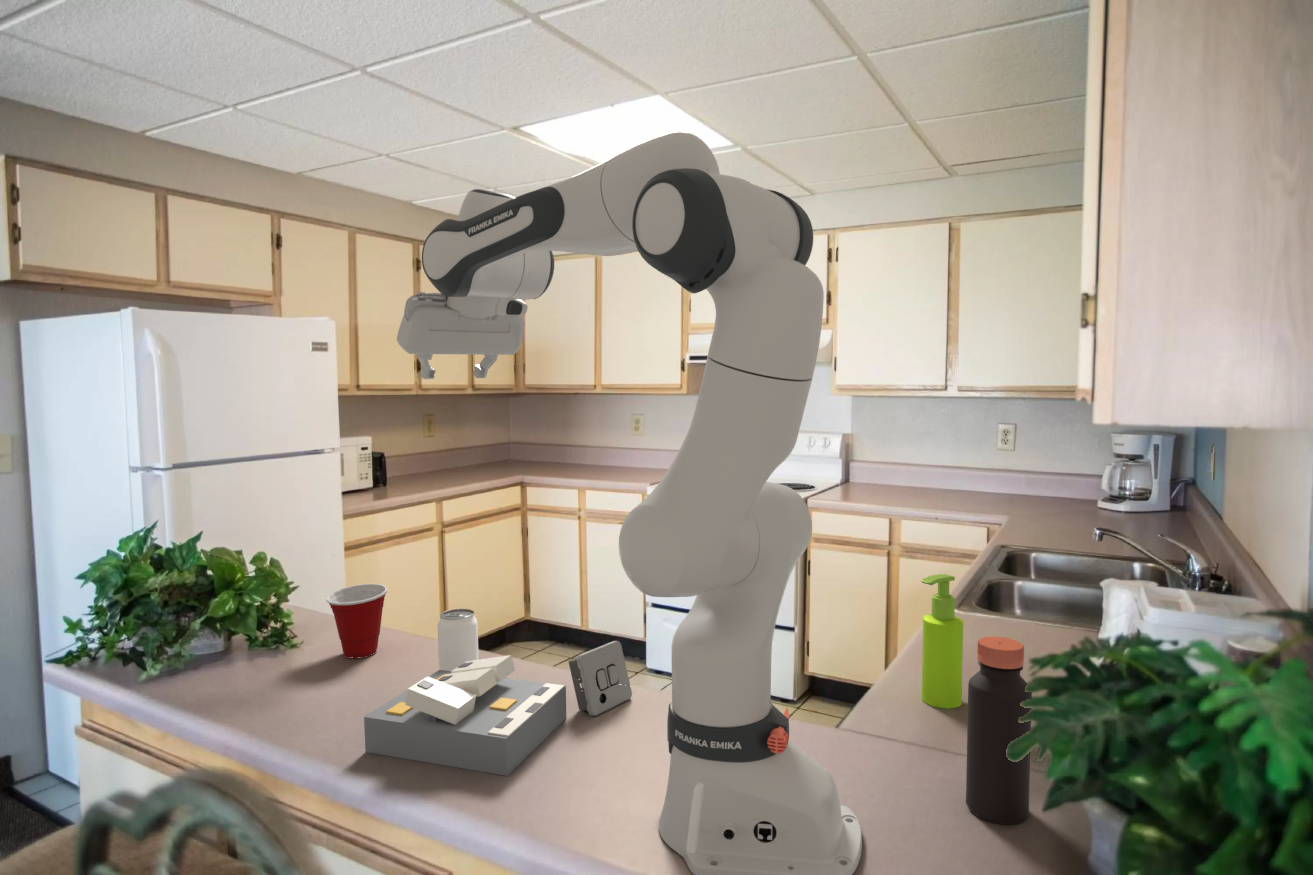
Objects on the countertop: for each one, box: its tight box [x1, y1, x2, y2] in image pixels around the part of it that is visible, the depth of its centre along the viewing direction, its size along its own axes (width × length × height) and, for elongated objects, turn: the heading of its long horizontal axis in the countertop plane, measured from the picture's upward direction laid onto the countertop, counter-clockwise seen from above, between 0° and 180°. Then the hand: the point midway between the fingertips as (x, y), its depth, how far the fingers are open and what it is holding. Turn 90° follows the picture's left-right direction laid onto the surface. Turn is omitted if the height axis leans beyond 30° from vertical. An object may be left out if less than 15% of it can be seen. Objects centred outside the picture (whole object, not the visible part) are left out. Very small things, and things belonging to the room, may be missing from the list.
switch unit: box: [363, 669, 567, 777], centre depth 112 cm, size 22×18×6 cm
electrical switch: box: [568, 640, 633, 717], centre depth 122 cm, size 9×5×9 cm, turn 141°
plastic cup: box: [325, 583, 388, 659], centre depth 145 cm, size 11×11×12 cm
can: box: [437, 608, 479, 671], centre depth 130 cm, size 6×6×12 cm
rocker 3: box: [451, 654, 516, 682], centre depth 117 cm, size 8×4×2 cm, turn 72°
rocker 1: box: [405, 676, 476, 725], centre depth 106 cm, size 8×4×3 cm, turn 72°
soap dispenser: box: [920, 573, 964, 710], centre depth 121 cm, size 6×7×20 cm
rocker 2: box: [438, 668, 496, 697], centre depth 112 cm, size 8×4×3 cm, turn 72°
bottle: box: [965, 636, 1033, 825], centre depth 90 cm, size 7×7×20 cm
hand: (453, 377), depth 124 cm, fingers open, 8 cm apart
